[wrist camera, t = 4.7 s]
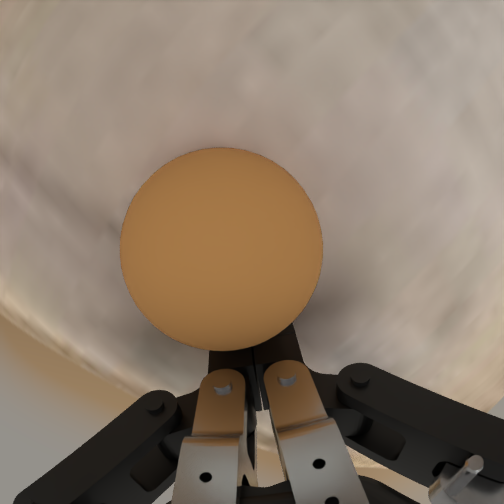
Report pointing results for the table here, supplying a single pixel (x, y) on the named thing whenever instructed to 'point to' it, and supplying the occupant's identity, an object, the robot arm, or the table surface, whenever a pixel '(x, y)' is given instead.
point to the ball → (221, 249)
